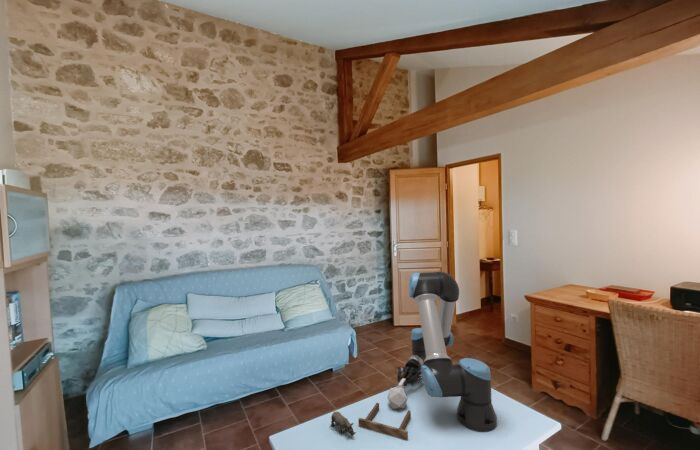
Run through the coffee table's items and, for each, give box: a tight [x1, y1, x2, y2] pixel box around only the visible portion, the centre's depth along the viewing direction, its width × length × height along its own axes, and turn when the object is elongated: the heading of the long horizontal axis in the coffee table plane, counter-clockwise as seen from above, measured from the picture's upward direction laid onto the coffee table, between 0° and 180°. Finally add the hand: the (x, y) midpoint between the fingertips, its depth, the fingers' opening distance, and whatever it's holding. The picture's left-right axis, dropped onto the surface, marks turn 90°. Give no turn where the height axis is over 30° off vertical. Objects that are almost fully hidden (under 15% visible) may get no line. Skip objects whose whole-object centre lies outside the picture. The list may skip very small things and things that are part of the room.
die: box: [387, 387, 408, 410], centre depth 139 cm, size 8×9×10 cm
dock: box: [358, 402, 412, 441], centre depth 128 cm, size 20×14×3 cm
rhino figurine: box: [330, 411, 356, 437], centre depth 124 cm, size 4×14×6 cm, turn 41°
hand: (399, 387), depth 144 cm, fingers closed
